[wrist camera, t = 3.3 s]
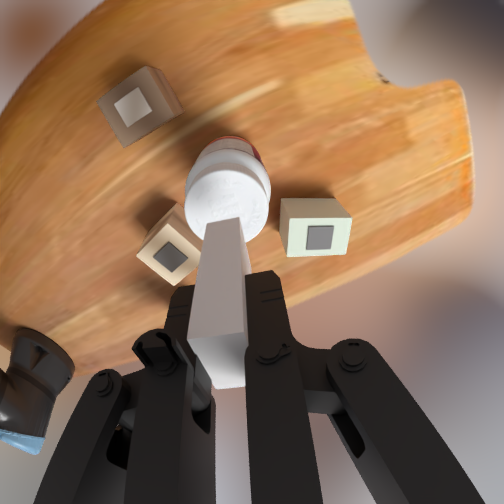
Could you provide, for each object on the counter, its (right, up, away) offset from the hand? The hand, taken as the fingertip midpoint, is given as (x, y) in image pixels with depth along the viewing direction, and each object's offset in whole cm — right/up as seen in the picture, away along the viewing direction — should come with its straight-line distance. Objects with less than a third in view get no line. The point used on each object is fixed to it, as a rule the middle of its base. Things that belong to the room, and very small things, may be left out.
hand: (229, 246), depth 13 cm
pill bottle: (-1, +8, +13) cm, 16 cm away
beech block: (-7, +2, +17) cm, 18 cm away
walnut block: (-9, +14, +9) cm, 19 cm away
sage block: (+7, +4, +17) cm, 18 cm away
